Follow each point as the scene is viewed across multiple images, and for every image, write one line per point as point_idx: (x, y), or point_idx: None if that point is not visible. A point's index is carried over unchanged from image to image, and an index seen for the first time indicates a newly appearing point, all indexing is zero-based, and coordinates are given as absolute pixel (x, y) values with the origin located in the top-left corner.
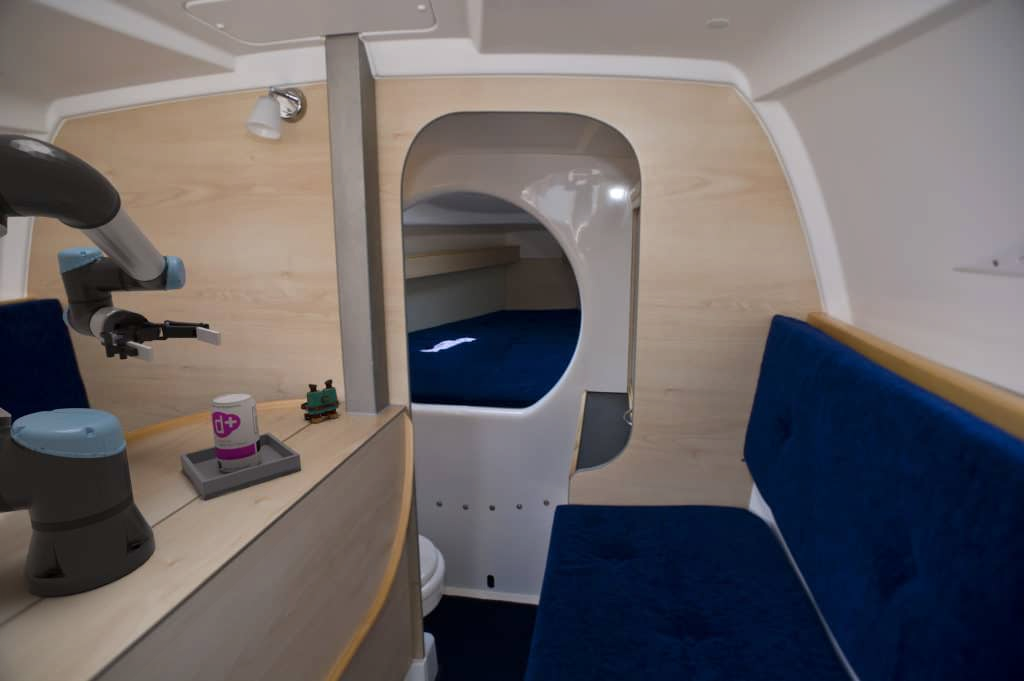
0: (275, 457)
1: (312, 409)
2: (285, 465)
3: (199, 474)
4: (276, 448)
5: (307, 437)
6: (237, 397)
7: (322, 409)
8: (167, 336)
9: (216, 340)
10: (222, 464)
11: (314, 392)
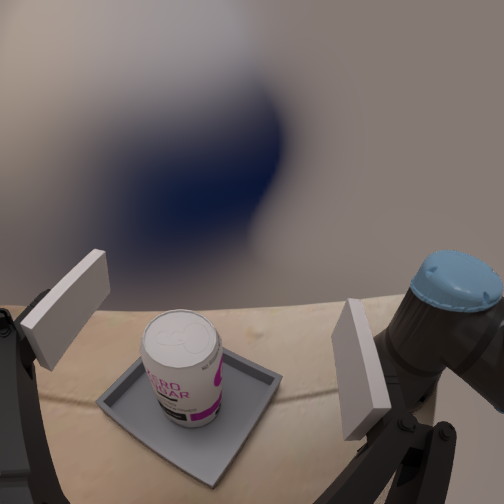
0: None
1: None
2: None
3: (264, 399)
4: (132, 380)
5: (69, 376)
6: (172, 332)
7: None
8: (58, 490)
9: (104, 279)
10: (221, 400)
11: None
